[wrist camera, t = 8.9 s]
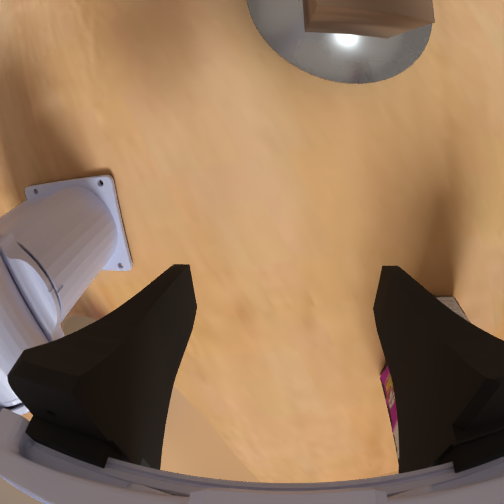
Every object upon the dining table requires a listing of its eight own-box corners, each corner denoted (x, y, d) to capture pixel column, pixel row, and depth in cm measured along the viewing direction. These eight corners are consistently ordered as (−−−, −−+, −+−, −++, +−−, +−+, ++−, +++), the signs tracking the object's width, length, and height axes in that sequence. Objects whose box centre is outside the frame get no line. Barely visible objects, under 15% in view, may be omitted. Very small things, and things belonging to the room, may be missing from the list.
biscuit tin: (256, 83, 17) (252, 83, 15) (246, -55, 12) (241, -74, 10) (415, 91, 16) (435, 93, 14) (403, -44, 11) (420, -58, 9)
